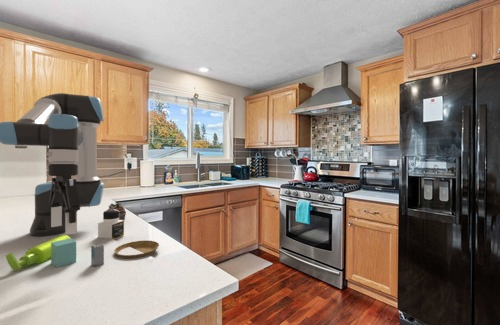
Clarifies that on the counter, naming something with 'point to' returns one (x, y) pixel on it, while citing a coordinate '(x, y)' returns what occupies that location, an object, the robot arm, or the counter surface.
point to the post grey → (97, 255)
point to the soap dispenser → (34, 254)
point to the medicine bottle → (111, 225)
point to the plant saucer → (139, 248)
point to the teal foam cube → (63, 252)
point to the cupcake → (119, 208)
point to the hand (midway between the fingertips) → (63, 229)
